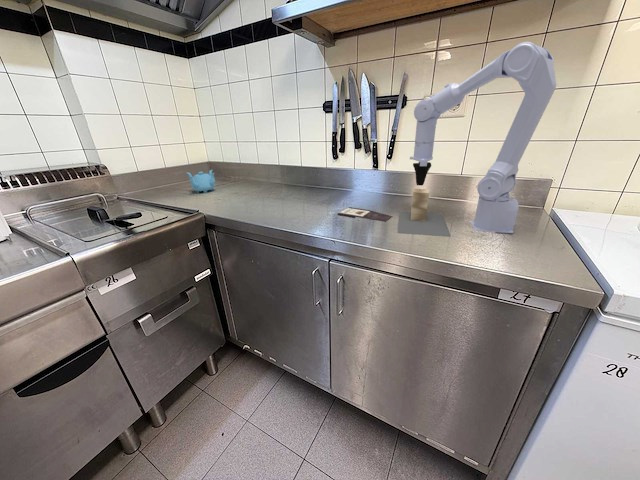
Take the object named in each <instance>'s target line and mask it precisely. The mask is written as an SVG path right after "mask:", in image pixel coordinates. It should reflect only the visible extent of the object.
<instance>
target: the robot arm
mask: <svg viewBox="0 0 640 480" xmlns="http://www.w3.org/2000/svg"><path fill="white" fill-rule="evenodd" d="M554 63H555V58H554V56H553V55H552V54H551V52H550V51H549V50H548V49H547V48H546V47H543V46H539V45H536V44H535V43H533V42H530V41H523V42H520V43H518V44H516V45H515V46H514V47H512V48H511V49H509V50H507V51H504V52H503V53H501V54H500V55H499V56H498V57H496V58H495V59H494V60H492V61H490V62H489V63H488V64H487V65H486V66H484V67H482V68H481V69H479V70H477V72H475V73H473V74H471V76H469V77H468V78H466V79H465V80H464V81H462V82H461V83H456V82H453V83H447V84H446V85H444V88H443V89H442V90H440V91H439V92H438V93H436V94H432V95H430V96H429V99H421V100H420V101H419V102H418V103H417V104H416V105H415V107H414V109H413V116H414V119H415V120H416V126H415V127H416V129H415V139H414V147H413V148H414V151H413V156H410V157H409V160H413V161H416V162H414V163H413V164H412V166H413V168H414V173H415V184H416V186H424V184H425V181H426V178H427V175H428V172H429V170H430V169H431V168H432V162H429V161H432V160H433V158H434V157H433V153H434V147H435V146H434V144H435V137H436V128H437V123H438V119H439V118H440V117H441V115H443V114H444V113H446V112H448V111H449V110H451V109H453V108H454V107H456V106H458V105H459V104H462V102H463V101H464V99H465V96H467V95H469V94H470V93H472V92H474V91H476V90H477V89H480V88H481V87H484V86H485V85H486V84H488V83H491V82H492V81H494V80H496V79H503V78H506V79H507V78H512V79H514V80H515V81H516V82H518V84H519V86H520V88H521V90H523V92H524V96H523V98H522V101H521V103H520V105H519V108H518V110H517V112H516V114H515V117H514V118H513V121H512V123H511V125H510V128H509V129H508V132H507V135H506V137H505V140H504V141H503V144H502V146H501V148H500V151H499V152H498V155H497V158H496V159H495V161H494V163H493V164H492V165H491V166H490V168H488V170H487V173H486V174H485V176H483V178H481V179H480V180H479V182H478V184H477V187H476V190H477V194H478V200H477V205H476V209H475V216H474V220H470V221H469V223H470V224H471V227H473V229H474V231H479V232H493V233H494V232H495V233H499V234H514V228H515V224H516V220H517V216H518V213H519V201H518V200H517V198H511V196H510V192H512V191H513V190H514V188H515V187H516V184H517V180H516V179H517V174H518V171H519V164H520V161H521V159H522V157H523V155H524V153H525V151H526V149H527V147H528V145H529V144H530V141H531V139H532V137H533V135H534V133H535V131H536V130H537V127H538V125H539V123H540V122H541V119H542V117H543V115H544V114H545V110H546V109H547V107H548V105H549V103H550V100H551V99H552V97H553V94H554V92H555V90H556V87H557V79H556V72H555V66H554Z"/></svg>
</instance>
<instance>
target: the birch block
mask: <svg viewBox="0 0 640 480" xmlns="http://www.w3.org/2000/svg"><path fill="white" fill-rule="evenodd" d="M429 198H430V191H429V189H428V188H427V189H426V188H425V189H424V188H421V189H420V188H413V189H412V198H411V207H410V208H411V209H410V212H411V220H417V221H426V215H427V213H428V206H429Z"/></svg>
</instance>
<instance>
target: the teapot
mask: <svg viewBox="0 0 640 480" xmlns="http://www.w3.org/2000/svg"><path fill="white" fill-rule="evenodd" d="M197 173H198V174H194V175H192V174H191V172H186V174H187V176H188V178H189V181H190V185H191V189H192V190H194V191H195V193H197V194H199V193H200V192H203V193H204V194H207V193H208V191H210V192H211V191H213V192H214V188H215V186H216V179H215V173H216V172H213V169H211V170H209V171H208V173H204V171H198V172H197Z"/></svg>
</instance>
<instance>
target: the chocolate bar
mask: <svg viewBox="0 0 640 480" xmlns="http://www.w3.org/2000/svg"><path fill="white" fill-rule="evenodd" d="M337 216H341V217H347V218H351V219H356V218H361V219H367V220H372V221H377V222H379V221H380V222H384V223H386V222H388V221H389V220H390V219H392V218H393V217H394V216H393V215H389V214H386V213H381V212H379V211H378V212H377V211H373V210H370V209H365V208H360V207H359V208H357V207H352V206H351V207H350V206H349V207H347V208H346V209H343V210H342V211H340V212H338V213H337Z"/></svg>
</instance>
